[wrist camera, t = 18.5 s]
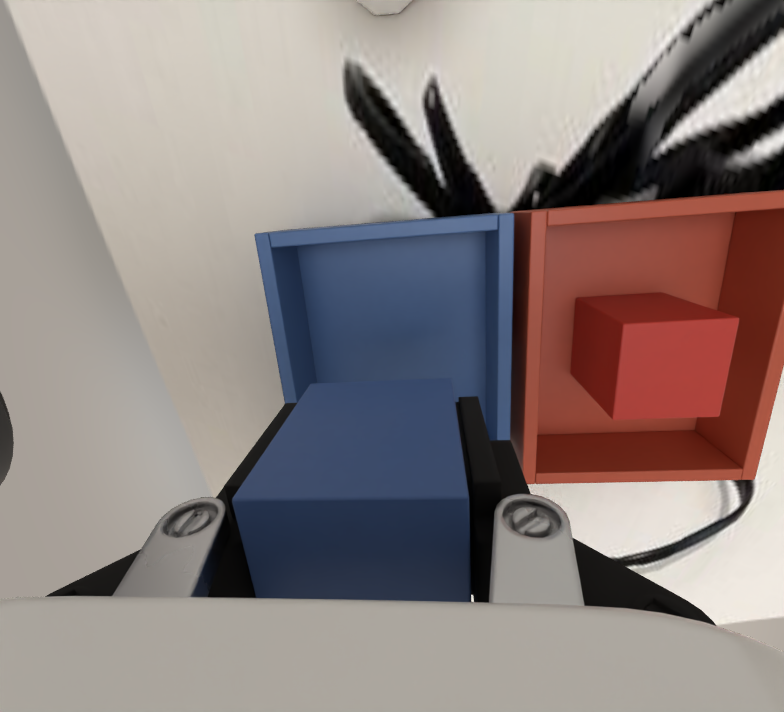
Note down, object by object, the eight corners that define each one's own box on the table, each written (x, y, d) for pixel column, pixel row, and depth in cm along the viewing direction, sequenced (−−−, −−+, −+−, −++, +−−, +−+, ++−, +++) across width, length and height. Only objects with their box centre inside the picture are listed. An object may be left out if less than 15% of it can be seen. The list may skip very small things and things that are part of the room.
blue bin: (319, 444, 24) (299, 488, 20) (286, 229, 20) (253, 233, 16) (495, 439, 23) (509, 484, 19) (496, 212, 19) (514, 212, 15)
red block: (569, 374, 21) (612, 421, 16) (575, 297, 20) (623, 323, 15) (651, 370, 20) (720, 417, 16) (662, 291, 19) (740, 317, 14)
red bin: (505, 439, 23) (522, 484, 19) (509, 211, 19) (531, 211, 15) (697, 433, 22) (755, 480, 18) (743, 192, 18) (830, 187, 14)
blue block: (328, 498, 13) (271, 663, 8) (310, 382, 12) (230, 499, 7) (455, 497, 12) (472, 669, 8) (451, 377, 11) (469, 497, 6)
